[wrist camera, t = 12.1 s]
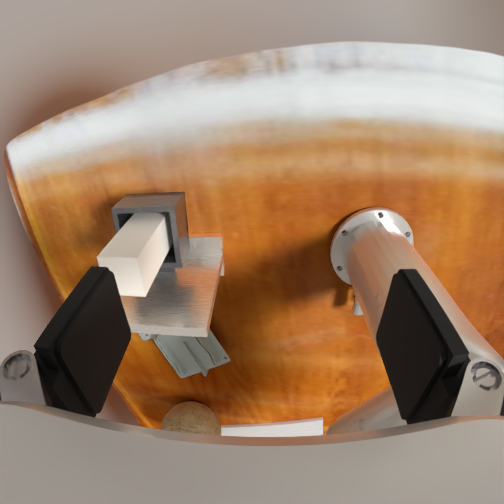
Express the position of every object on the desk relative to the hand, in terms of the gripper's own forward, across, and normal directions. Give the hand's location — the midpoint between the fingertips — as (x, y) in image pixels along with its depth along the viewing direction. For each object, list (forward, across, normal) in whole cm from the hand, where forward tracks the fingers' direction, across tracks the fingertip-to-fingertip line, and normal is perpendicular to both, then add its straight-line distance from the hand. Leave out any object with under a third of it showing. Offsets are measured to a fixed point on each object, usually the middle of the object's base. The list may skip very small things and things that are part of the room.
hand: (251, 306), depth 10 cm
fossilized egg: (+31, +14, +54) cm, 64 cm away
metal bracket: (+31, +12, +32) cm, 46 cm away
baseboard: (+31, 0, +67) cm, 74 cm away
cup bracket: (+30, +12, +11) cm, 34 cm away
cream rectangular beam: (+24, +12, +8) cm, 28 cm away
